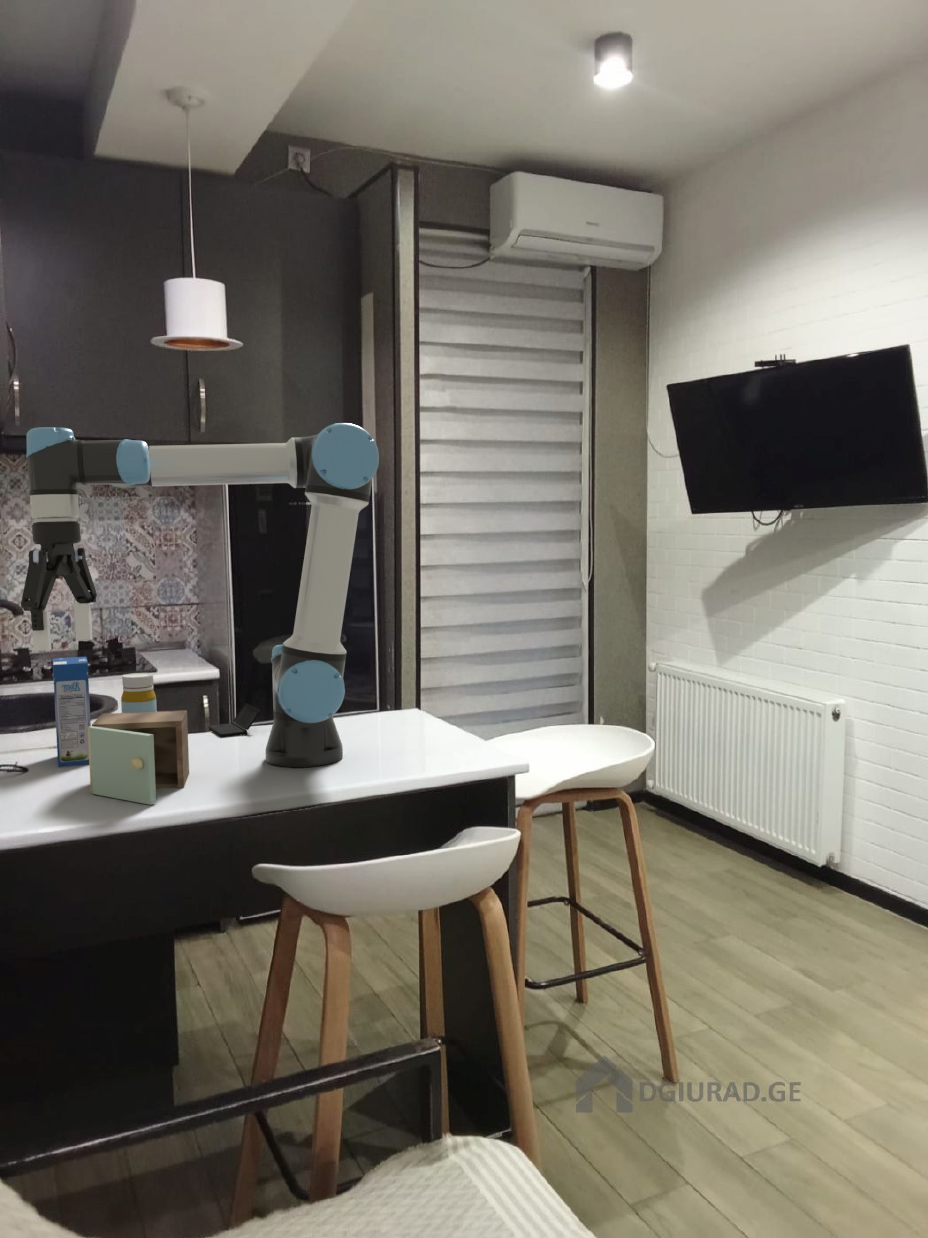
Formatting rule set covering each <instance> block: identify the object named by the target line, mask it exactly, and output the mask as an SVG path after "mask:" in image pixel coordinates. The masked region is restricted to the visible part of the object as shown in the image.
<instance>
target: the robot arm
mask: <svg viewBox="0 0 928 1238" xmlns="http://www.w3.org/2000/svg"><path fill="white" fill-rule="evenodd" d="M379 453H380V452H379V448H378V446H377V443H376V441H375V439H374V438H373V437H372V434H370V433H369V432H368V431H367V430H366V429H364V428H363V427H361V426H359V425H356V424H353V423H350V422H349V423H348V422H339V423H333V424H330V425H327V426H325V428H323V429H322V430H321V431H319V433H317V434H314V435H310V436H300V437H290V439H288V441H287V442H281V443H279V442H277V443H276V442H272V443H268V442H267V443H233V444H231V443H230V444H229V443H227V444H226V443H225V444H222V443H221V444H219V443H218V444H185V445H183V444H182V445H181V444H179V445H178V444H177V445H148V443H147V442H146V441H143V440H137V439H136V440H134V439H133V440H132V439H128V438H126V439H125V438H124V439H116V440H115V439H108V440H106V439H104V440H103V439H101V440H100V439H99V440H84V439H83V440H81V439H76V437H75V436H74V431H73V430H72V429H71V428H67V427H52V426H51V427H50V426H49V427H45V426H44V427H43V426H42V427H34V428H31V429H29V430H28V431H27V432H26V455H25V457H26V458H25V459H26V463H27V464H26V465H27V475H28V476H27V478H28V479H27V480H28V486H29V495H30V496H29V497H30V502H29V507H30V514H31V518H32V519H33V520H35V522H33V523H32V524H31V529H32V530H31V531H32V542H33V544H35V545H40V549H38V550H37V549H34V550H33V549H31V550H29V551H28V567H27V571H26V577H25V582H24V586H23V587H24V588H23V590H22V591H23V592H22V596H21V601H20V606H21V608H22V609H23V611H24V612H30V621H31V632H32V647H33V651H51V650H52V639H51V638H52V637H51V624H50V611H49V610H46V608H47V605H48V602H49V599H50V596H51V593H52V591H53V588H54V585H55V583H56V580H57V579H59V578H60V577H62V578H63V580H64V581H65V583H66V585H67V587H68V588H69V590H70V592H71V594H72V596H73V597H74V600H75V601H76V603H73V611H74V612H73V615H74V625H75V626H74V627H75V629H74V630H75V640H76V641H91V640H93V625H92V612H91V611H92V610H91V603H94V604H95V603H96V602H97V597H98V596H97V595H98V594H97V590H96V587H95V584H94V581H93V578H92V575H91V572H90V569H89V565H88V562H87V559H86V551H85V548H84V547H75V546H74V544H78V543H80V542H81V540H82V538H81V524H80V523H79V521H77V519H78V518H80V508H79V497H78V494H79V493H78V485H83V486H87V485H89V486H90V485H94V486H95V485H99V486H100V485H103V486H104V485H110V487H113V488H116V489H120V490H122V489H123V490H125V489H131V488H148V487H149V488H150V487H175V486H180V487H181V486H212V485H213V486H219V485H250V484H251V485H255V484H257V485H258V484H289V485H290V486H291V487H292V488H293V489H302V488H305V490H304V496H306V498H307V499H308V500H309V502H310V504H311V508H310V516H309V521H308V522H309V523H308V531H307V536H306V544H305V551H304V556H303V558H304V559H303V563H302V569H301V570H302V571H301V578H300V585H299V590H298V591H299V592H298V599H297V605H296V613H295V618H294V626H293V632H292V635H291V636H290V637H288V638H287V639H286V640H285V641H284V642H283V643H282V644H277V645H274V646H273V648H272V650H271V658H270V663H271V666H272V667H271V670H272V700H273V701H272V702H273V703H272V706H273V724H272V726H271V730H270V734H269V736H268V739H267V743H266V747H265V761H266V762H267V763H268V764H271V765H273V766H277V767H287V768H304V767H308V768H309V767H318V766H325V765H328V764H333V763H335V762H338V761H341V759H343V755H344V754H343V753H344V752H343V743H342V739H341V738H340V735H339V731H338V730H337V729H338V728H337V726H336V723H335V720H334V715H335V714H336V713H337V712H338V710H340V708H341V706H342V704H343V702H344V699H345V693H346V689H345V681H344V674H345V673H344V672H345V665H346V659H347V650H346V649H345V647H344V645H343V643H342V642H341V636H342V628H343V622H344V615H345V609H346V602H347V595H348V589H349V582H350V576H351V575H350V573H351V569H352V562H353V555H354V548H355V543H356V542H355V541H356V533H357V527H358V521H359V513H360V512H361V510H363V509H364V508H366V507H367V506H368V505H369V503H370V496H371V492H372V491H371V490H372V483H373V478H374V477H375V475H376V473H377V470H378V468H379V463H380V462H379V461H380V454H379Z"/></svg>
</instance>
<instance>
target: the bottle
mask: <svg viewBox="0 0 928 1238" xmlns="http://www.w3.org/2000/svg"><path fill="white" fill-rule="evenodd" d="M121 679H122V691H123V692H122V694H121V697H120V698H121V699H120V702H121V703H120V704H121V705H120V706H121V713H134V712H158V710H157V696H156V695H157V694H156V693H155V691H154V674H153V673H149V672H133V673H128V674H123V675H122V677H121Z"/></svg>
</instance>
